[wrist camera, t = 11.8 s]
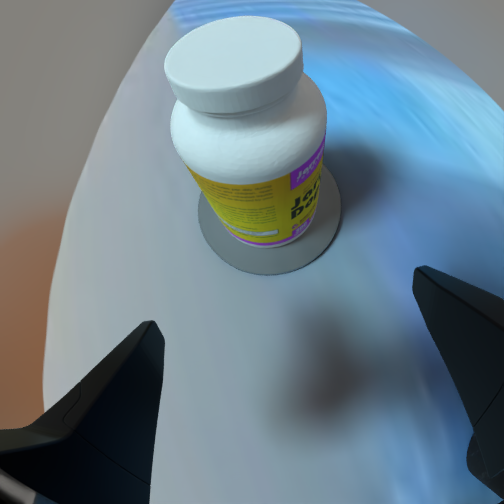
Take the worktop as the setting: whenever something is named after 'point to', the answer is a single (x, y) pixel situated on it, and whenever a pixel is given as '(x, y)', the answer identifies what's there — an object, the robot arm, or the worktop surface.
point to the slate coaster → (282, 256)
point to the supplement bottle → (249, 126)
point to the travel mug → (483, 469)
